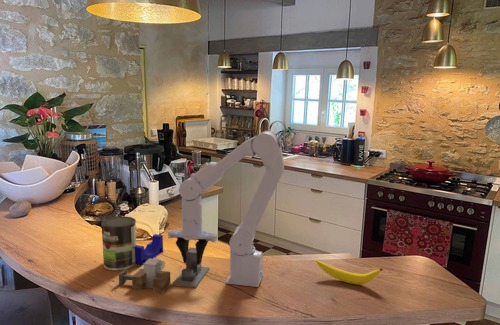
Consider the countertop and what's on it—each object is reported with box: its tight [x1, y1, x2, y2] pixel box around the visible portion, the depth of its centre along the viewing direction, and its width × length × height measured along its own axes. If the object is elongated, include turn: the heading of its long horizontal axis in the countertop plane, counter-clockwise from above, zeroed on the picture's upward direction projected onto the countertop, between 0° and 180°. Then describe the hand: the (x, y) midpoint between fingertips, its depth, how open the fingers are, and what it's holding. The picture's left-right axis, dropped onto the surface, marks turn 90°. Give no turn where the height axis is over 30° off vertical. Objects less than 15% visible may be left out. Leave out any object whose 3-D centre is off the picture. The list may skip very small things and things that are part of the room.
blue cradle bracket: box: [135, 233, 164, 267], centre depth 121 cm, size 12×4×6 cm, turn 160°
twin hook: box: [142, 258, 166, 289], centre depth 108 cm, size 7×13×7 cm, turn 168°
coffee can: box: [100, 216, 137, 271], centre depth 116 cm, size 10×10×14 cm
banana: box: [315, 259, 383, 285], centre depth 106 cm, size 3×19×6 cm, turn 64°
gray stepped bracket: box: [181, 247, 202, 282], centre depth 108 cm, size 4×8×7 cm, turn 168°
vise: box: [118, 268, 171, 293], centre depth 103 cm, size 14×5×4 cm, turn 78°
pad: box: [172, 266, 210, 289], centre depth 108 cm, size 7×12×1 cm, turn 168°
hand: (192, 262), depth 109 cm, fingers closed on gray stepped bracket, 3 cm apart
